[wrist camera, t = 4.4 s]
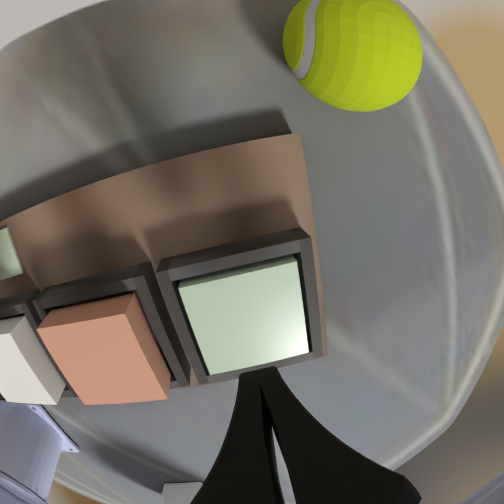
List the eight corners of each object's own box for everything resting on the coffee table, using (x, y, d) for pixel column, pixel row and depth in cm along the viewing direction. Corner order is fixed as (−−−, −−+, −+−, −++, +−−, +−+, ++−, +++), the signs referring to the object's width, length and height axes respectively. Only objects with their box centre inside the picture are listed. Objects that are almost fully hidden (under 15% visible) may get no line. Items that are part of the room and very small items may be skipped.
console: (34, 385, 19) (21, 410, 16) (-38, 241, 14) (-64, 256, 11) (320, 342, 20) (336, 372, 17) (292, 134, 15) (311, 130, 12)
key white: (17, 385, 15) (7, 401, 13) (-21, 324, 13) (-35, 339, 11) (66, 384, 15) (56, 404, 14) (25, 315, 13) (9, 333, 12)
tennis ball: (268, 9, 12) (298, -54, 6) (373, 26, 13) (437, -10, 7) (272, 113, 15) (311, 91, 8) (380, 122, 15) (457, 118, 9)
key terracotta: (92, 383, 15) (84, 404, 14) (51, 310, 14) (36, 329, 12) (170, 374, 16) (167, 398, 14) (134, 292, 14) (124, 313, 12)
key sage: (209, 352, 17) (210, 374, 15) (182, 271, 15) (178, 288, 13) (299, 332, 17) (308, 352, 16) (286, 247, 15) (296, 261, 14)
